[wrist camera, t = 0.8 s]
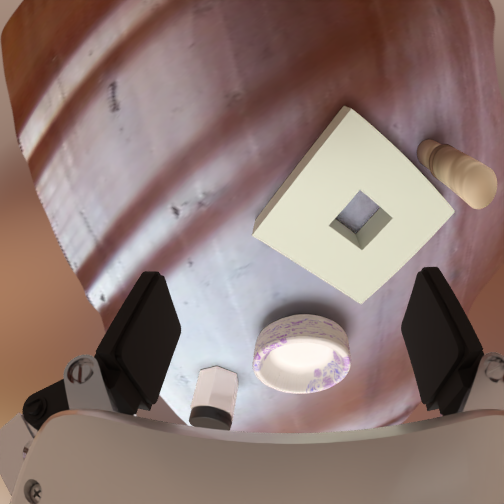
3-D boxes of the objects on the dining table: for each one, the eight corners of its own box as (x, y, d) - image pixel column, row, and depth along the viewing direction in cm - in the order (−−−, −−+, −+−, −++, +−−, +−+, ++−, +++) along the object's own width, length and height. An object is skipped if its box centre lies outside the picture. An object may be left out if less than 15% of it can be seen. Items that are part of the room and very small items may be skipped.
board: (343, 105, 28) (351, 108, 25) (441, 198, 32) (454, 211, 29) (255, 220, 37) (252, 235, 34) (356, 286, 41) (361, 304, 38)
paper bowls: (261, 295, 44) (256, 334, 37) (357, 304, 43) (365, 343, 37) (253, 355, 52) (249, 390, 46) (332, 361, 52) (335, 396, 45)
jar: (240, 389, 60) (232, 436, 50) (204, 385, 61) (193, 430, 51) (237, 367, 55) (228, 419, 45) (197, 363, 56) (184, 413, 46)
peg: (428, 129, 28) (483, 155, 18) (448, 152, 29) (503, 187, 19) (408, 154, 30) (456, 189, 20) (429, 175, 31) (478, 218, 21)
